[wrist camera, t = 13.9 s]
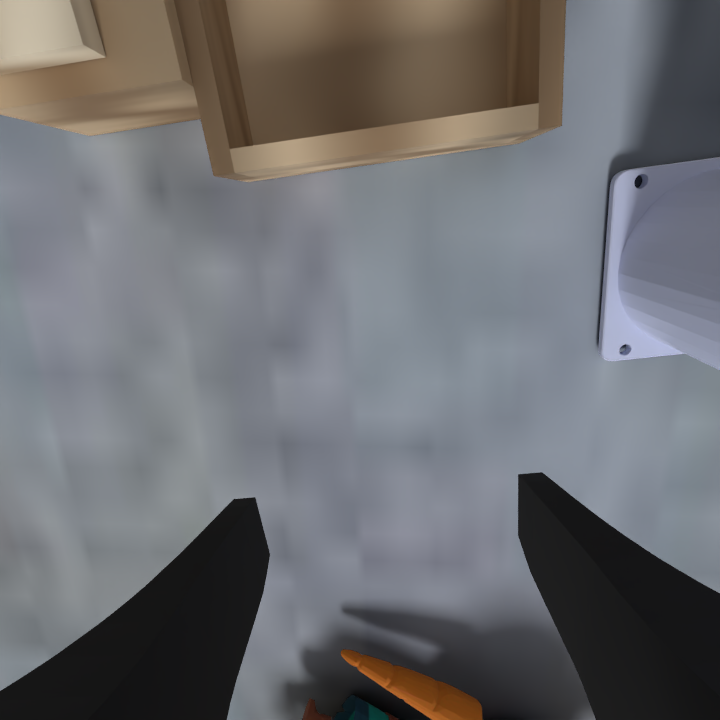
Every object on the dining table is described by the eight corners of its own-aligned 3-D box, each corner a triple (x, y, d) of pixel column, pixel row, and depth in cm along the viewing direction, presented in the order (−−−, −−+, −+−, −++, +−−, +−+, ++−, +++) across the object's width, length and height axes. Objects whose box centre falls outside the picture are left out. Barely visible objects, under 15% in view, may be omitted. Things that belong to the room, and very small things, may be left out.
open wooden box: (519, -167, 13) (593, -353, 9) (519, 143, 17) (573, 120, 12) (25, -71, 15) (-128, -192, 10) (110, 201, 18) (21, 200, 13)
